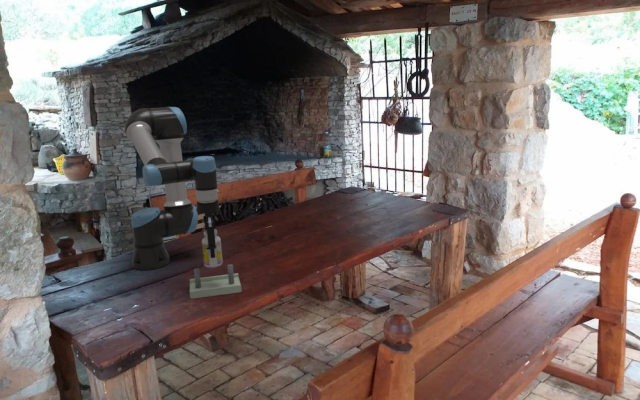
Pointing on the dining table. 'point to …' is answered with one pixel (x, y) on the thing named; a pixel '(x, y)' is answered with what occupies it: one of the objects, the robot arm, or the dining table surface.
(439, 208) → the dining table surface
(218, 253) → the supplement bottle
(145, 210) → the robot arm
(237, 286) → the tray
